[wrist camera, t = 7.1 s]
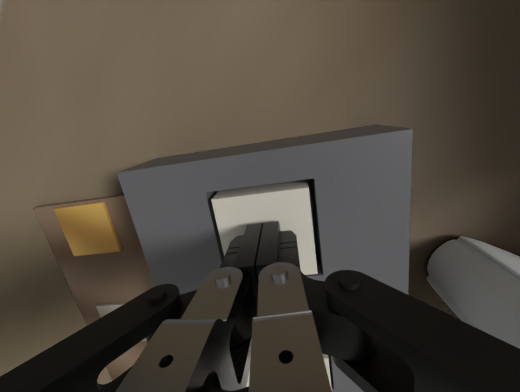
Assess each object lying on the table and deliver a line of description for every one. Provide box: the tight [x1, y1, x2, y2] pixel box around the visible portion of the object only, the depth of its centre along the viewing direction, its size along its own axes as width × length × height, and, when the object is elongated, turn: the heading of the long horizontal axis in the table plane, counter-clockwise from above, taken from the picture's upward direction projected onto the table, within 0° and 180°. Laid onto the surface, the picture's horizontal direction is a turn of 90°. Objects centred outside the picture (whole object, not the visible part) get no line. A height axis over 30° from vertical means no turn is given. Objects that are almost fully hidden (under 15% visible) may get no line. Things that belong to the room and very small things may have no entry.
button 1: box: [211, 179, 318, 275], centre depth 13 cm, size 4×4×2 cm
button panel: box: [117, 125, 413, 392], centre depth 16 cm, size 24×13×4 cm, turn 9°
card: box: [33, 195, 155, 380], centre depth 19 cm, size 20×7×1 cm, turn 9°
